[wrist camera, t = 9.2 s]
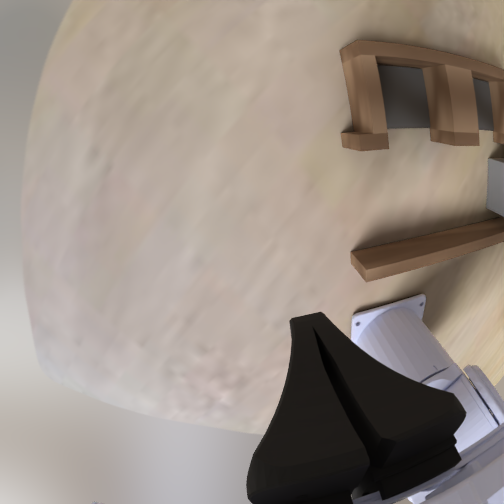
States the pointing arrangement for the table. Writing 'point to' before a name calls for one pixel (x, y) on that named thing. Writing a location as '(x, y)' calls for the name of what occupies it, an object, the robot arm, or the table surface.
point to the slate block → (495, 185)
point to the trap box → (421, 116)
